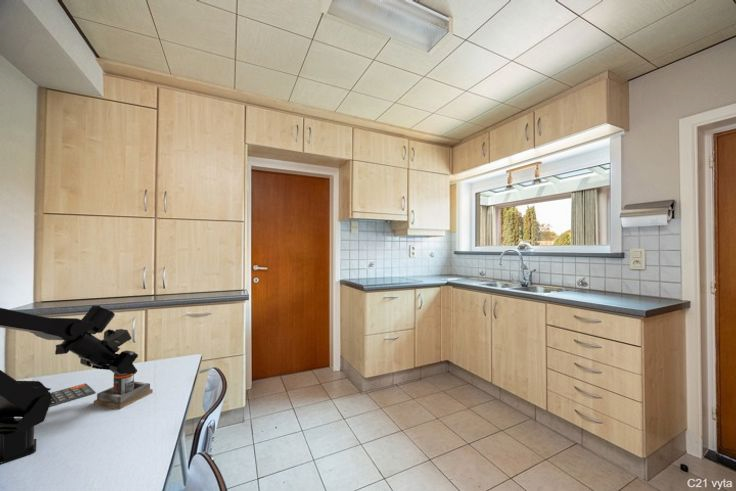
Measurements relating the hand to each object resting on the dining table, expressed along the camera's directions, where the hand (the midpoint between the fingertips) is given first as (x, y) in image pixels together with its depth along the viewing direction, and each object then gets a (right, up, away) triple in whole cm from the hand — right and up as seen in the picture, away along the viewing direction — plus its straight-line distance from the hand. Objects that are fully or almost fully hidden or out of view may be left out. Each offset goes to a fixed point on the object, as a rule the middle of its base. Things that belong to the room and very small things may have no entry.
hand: (129, 370), depth 97 cm
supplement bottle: (-1, -7, -2) cm, 8 cm away
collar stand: (0, -8, -1) cm, 8 cm away
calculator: (-22, -9, -1) cm, 24 cm away
